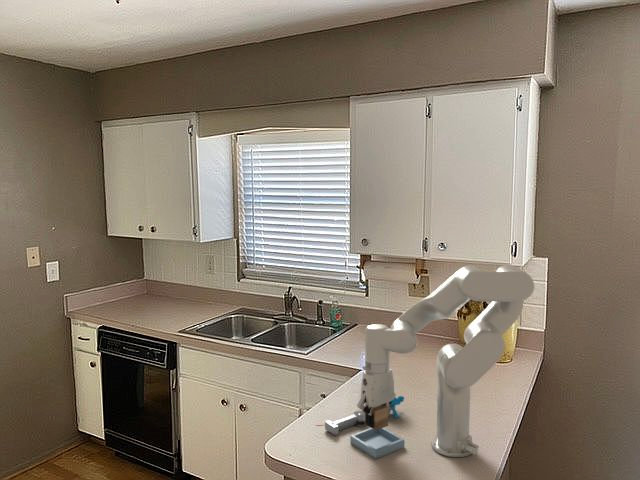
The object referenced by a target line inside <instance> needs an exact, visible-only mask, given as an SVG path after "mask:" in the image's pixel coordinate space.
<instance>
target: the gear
mask: <svg viewBox="0 0 640 480" xmlns="http://www.w3.org/2000/svg"><path fill="white" fill-rule="evenodd" d="M404 401H405V397H404V396H403V395H400V396H397V397H396V396H395V398H394V399H393V400H392V403H391V404H390V409H389V412H390V411H392V413H393V414H394V417H395V418H396V419H398V418H399V415H398V413H397V410H396V406H399V405H400V404H402V403H403V402H404Z"/></svg>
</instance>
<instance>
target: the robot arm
mask: <svg viewBox="0 0 640 480" xmlns="http://www.w3.org/2000/svg"><path fill="white" fill-rule="evenodd" d="M534 291H535V283H534V280H533V278H532V276H531V275H530V274H528V273H527V272H526V271H525V270H523V269H521V268H520V267H517V266H515V265H512V264H504V265H501V266H499V267H498V268H497V269H496V270H495V271H488V270H487V271H485V270H481V269H480V268H478V267H477V266H474V265H464V266H463V267H461V268H459V269H458V270H457V271H456V272H455V273H454V274H452V275H451V276H450V277H449V278H448V279H446V280H445V281H444V282H443V283H442V284H441V285H439V287H437V289H435V290H434V291H433V292H432V293H430V294H429V295H428V296H426V297H424V298H423V299H421V300H419V301H418V302H416V303H415V304H413V305H412V306H410V307H409V308H408V309H406V311H404V312H403V313H402V314H400V316H398V318H396V320H394V321H393V322H392V324H391V326H390V327H389V326H388V325H385V324H381V323H375V324H374V323H373V324H368V325H367V326H366V327H365V330H364V365H362V369H363V373H362V378H361V386H360V399H359V401H358V403H357V405H356V407H357V408H359V410H360V411H364V413H365V424H366V425H367V426H366V427H369V428H373V427H374V415H372V414H373V409H374V407H376V406H379V405H382V404H384V405H386V406H388V407H389V409H390V404H391V403H392V400H393V399H394V398H395V397H396V396H397V394H396V393H395V380H394V374H393V370H392V368H391V353H396V354H401V355H403V354H405V355H406V354H410V353H412V352H414V351H415V350H416V349H417V346H418V339H417V336H416V335H417V333H419V332H420V331H421V330H422V329H423V328H425V327H426V326H427V325H429V324H430V323H432V322H434V321H439V320H440V321H441V320H446V319H449V318H451V317H452V316H454V314H456V312H458V311H459V310H460V309H461V308H462V307H464V305H466V304H467V303H468V302H469V301H473V302H484V303H485V302H486V303H489V302H490V303H489V304H488V305H487V307H486V308H484V310H483V311H481V313H479V315H477V317H476V318H474V320H473V321H471V322H470V323H469V324H468V325H467V326H466V328H465V330H464V332H463V339H464V342H465V345H464V346H462V345H460V344H458V343H447V344H445V345H443V346H442V347H441V348H440V349H439V350H438V353H437V356H436V378H437V379H436V380H437V388H436V389H437V390H436V391H437V392H436V393H437V395H436V396H437V397H436V403H437V404H436V409H437V410H436V435H435V436H433V437H432V439H431V440H430V441H431V442H430V443H431V448H432V449H433V450H434V451H435V452H436V453H438V454H440V455H442V456H445V457H451V458H463V457H464V458H465V457H467V456H470V455H472V456H476V455H477V453H478V450H479V447H480V445H478V444H476V443H474V442H473V436H472V435H470V419H471V418H470V415H471V413H470V411H471V408H470V407H471V387H472V386H473V385H476V383H477V382H478V381H479V380H481V378H482V377H483V376H484V375H486V374H487V373H488V372H489V371H490V370H491V368H493V367H494V366H495V364H496V363H498V361H500V359H501V358H502V356H503V354H504V353H505V349H506V341H505V338H504V337H503V336H504V335H505V333H506V332H507V331H508V330H509V329H510V328H511V327H512V326H513V325H514V324H515V323H516V321H517V320H518V318H520V316H521V314H522V310H523V308H524V304H525V302H524V301H525V300H527V299H529V298H530V297H531V296H532V295H533V293H534ZM369 406H370V408H369V409H368V407H369Z"/></svg>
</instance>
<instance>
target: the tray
mask: <svg viewBox="0 0 640 480" xmlns="http://www.w3.org/2000/svg"><path fill="white" fill-rule="evenodd" d="M349 437H350V438H349V439H350V444H351V445H352V446H353V447H355V448H357V449H358V450H360V451H362V452H363V453H365V454H366V455H368V456H370V457H371V458H372V459H374V460H377V459H380V458H383V457H385V456H387V455H389V454H392V453H394V452H396V451H399V450H401V449H404V448H405V439H404V438H403V437H401V436H400V435H397V433H396V434H395V433H394V432H392V431H391V430H388V429H387V428H386V427H384V428H381V429H379V430H374V429H373V428H371V427H369V428H367V429H364V430H362V431H359V432H356V433H354V434H351V435H350V436H349Z"/></svg>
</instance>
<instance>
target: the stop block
mask: <svg viewBox="0 0 640 480" xmlns="http://www.w3.org/2000/svg"><path fill="white" fill-rule="evenodd" d="M369 408H370V406H369V407H368V409H369ZM389 412H390V411H389V407H388V406H386V405H384V404H382V405H379V406H376V407H374V409H373V414H372V415H374V427H373V429H374V430H379V429H381V428H386V427H388V426H389Z"/></svg>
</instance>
